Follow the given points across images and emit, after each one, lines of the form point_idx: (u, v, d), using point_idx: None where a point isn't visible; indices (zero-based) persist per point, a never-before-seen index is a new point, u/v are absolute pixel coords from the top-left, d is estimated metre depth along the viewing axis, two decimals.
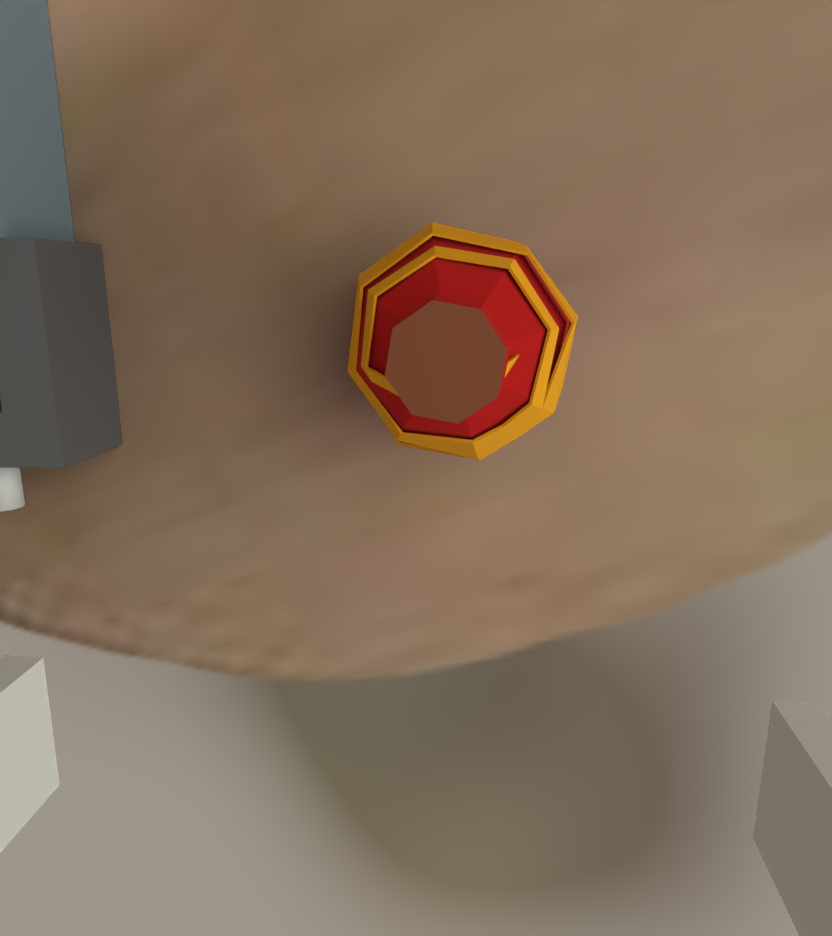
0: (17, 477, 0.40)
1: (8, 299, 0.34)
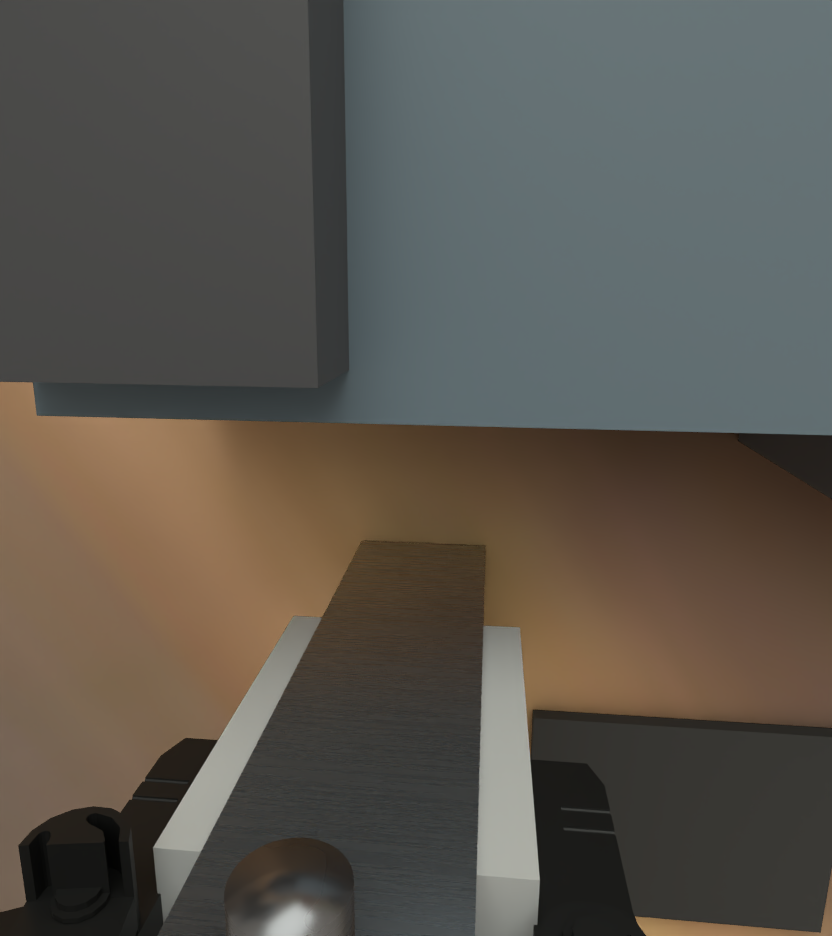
0: None
1: None
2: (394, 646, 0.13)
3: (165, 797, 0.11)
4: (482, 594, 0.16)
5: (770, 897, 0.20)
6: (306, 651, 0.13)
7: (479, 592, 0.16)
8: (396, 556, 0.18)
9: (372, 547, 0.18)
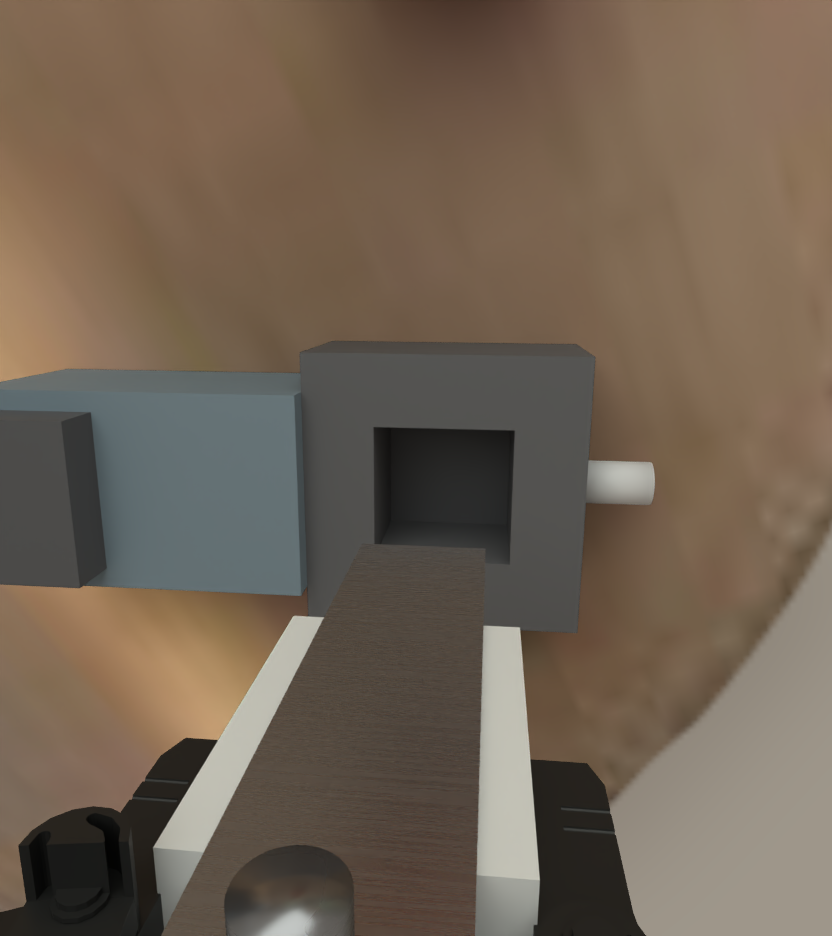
0: (610, 462, 0.30)
1: (372, 397, 0.28)
2: (394, 650, 0.13)
3: (165, 797, 0.11)
4: (482, 597, 0.16)
5: None
6: (306, 655, 0.13)
7: (479, 596, 0.16)
8: (396, 559, 0.18)
9: (372, 550, 0.18)
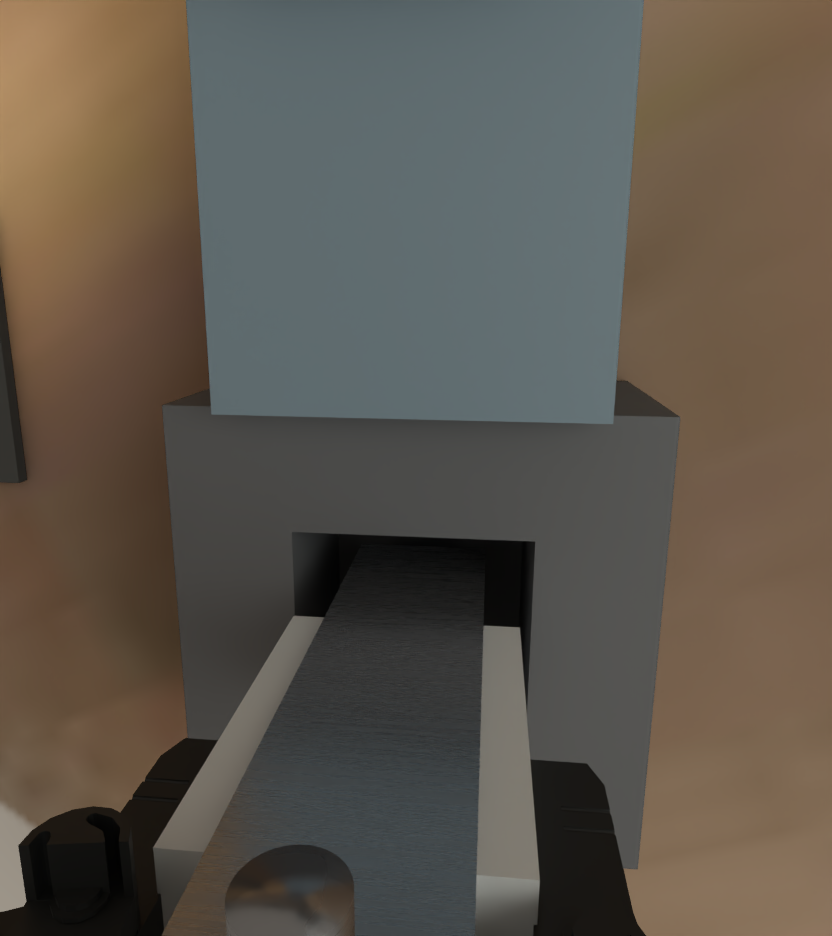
0: None
1: (588, 543, 0.16)
2: (394, 651, 0.13)
3: (165, 797, 0.11)
4: (482, 598, 0.16)
5: None
6: (306, 655, 0.13)
7: (479, 596, 0.16)
8: (396, 559, 0.18)
9: (372, 550, 0.18)
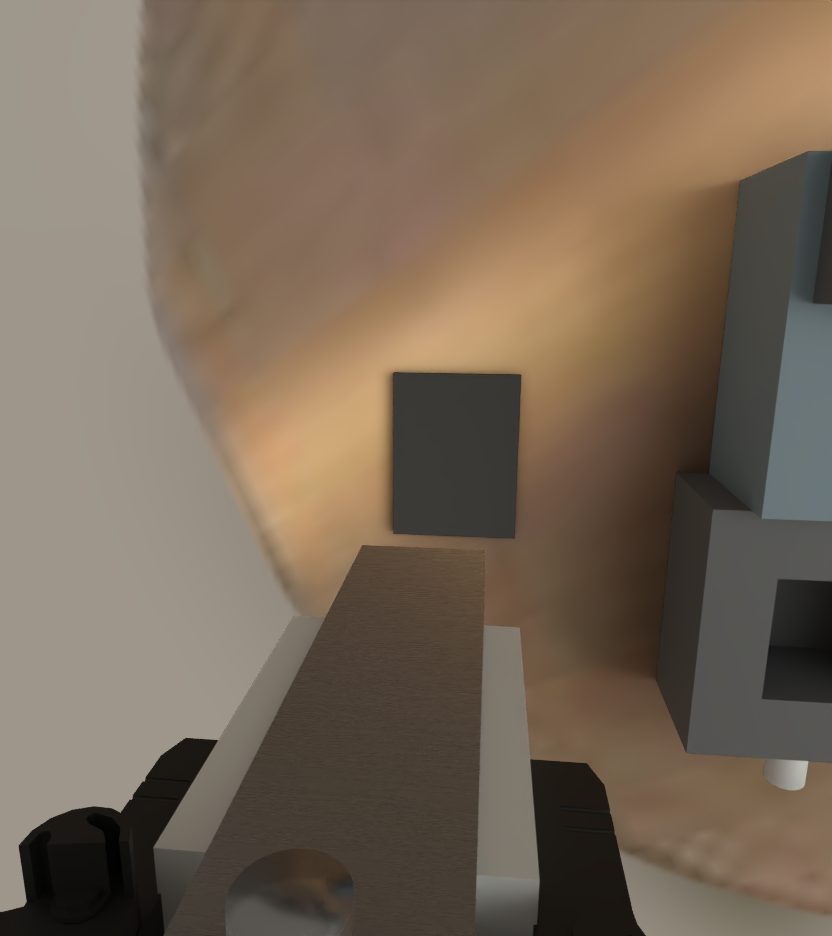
0: None
1: None
2: (394, 653, 0.13)
3: (165, 797, 0.11)
4: (482, 600, 0.16)
5: (413, 507, 0.36)
6: (306, 657, 0.13)
7: (479, 597, 0.16)
8: (396, 561, 0.18)
9: (372, 552, 0.18)
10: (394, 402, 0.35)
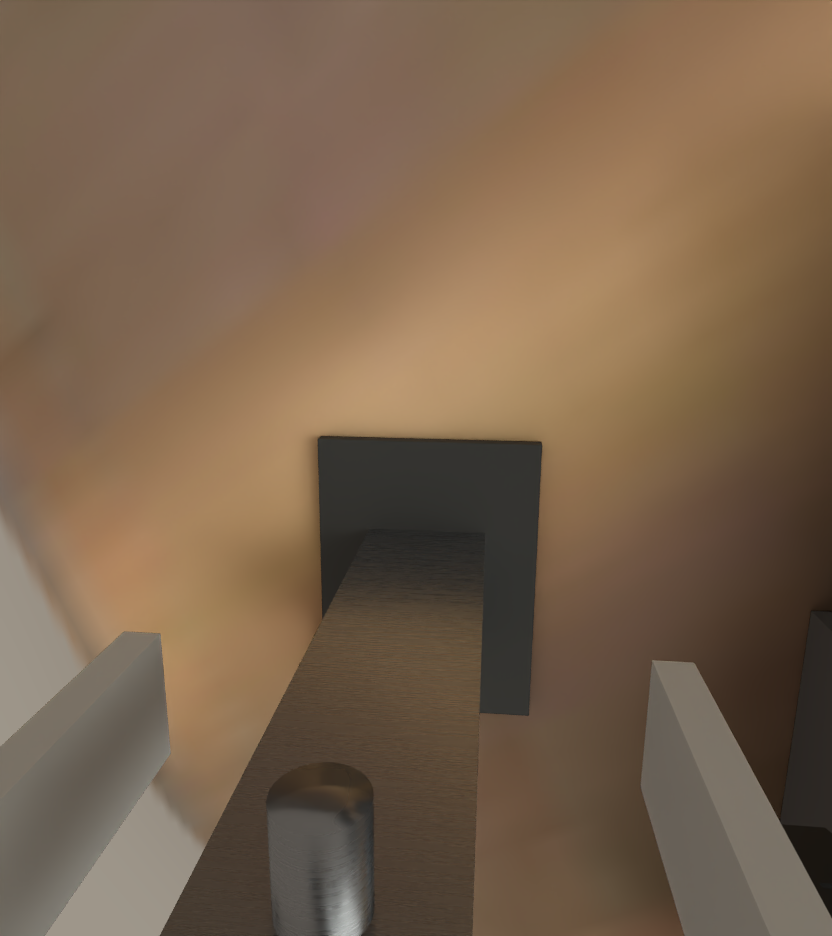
0: None
1: None
2: (402, 621, 0.15)
3: None
4: (482, 576, 0.17)
5: None
6: (321, 625, 0.14)
7: (478, 575, 0.17)
8: (402, 543, 0.19)
9: (379, 535, 0.20)
10: (321, 488, 0.20)
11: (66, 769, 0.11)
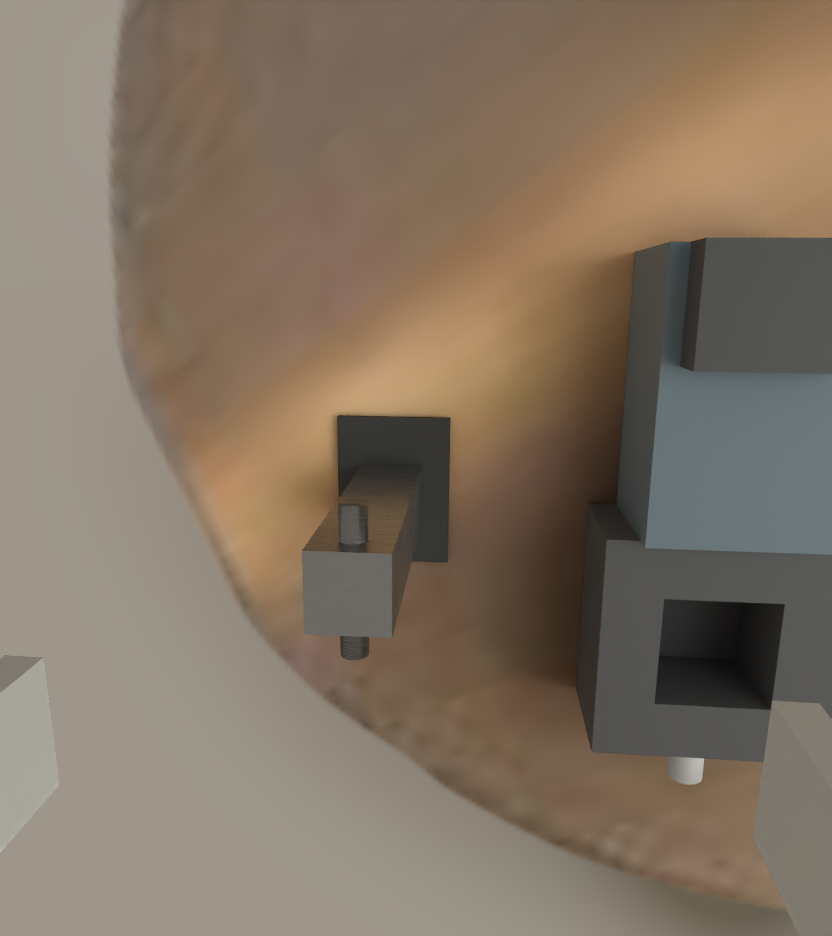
0: None
1: (810, 604, 0.33)
2: (378, 490, 0.34)
3: None
4: (417, 478, 0.36)
5: None
6: (344, 491, 0.34)
7: (416, 478, 0.36)
8: (380, 467, 0.38)
9: (368, 465, 0.39)
10: (338, 442, 0.39)
11: None
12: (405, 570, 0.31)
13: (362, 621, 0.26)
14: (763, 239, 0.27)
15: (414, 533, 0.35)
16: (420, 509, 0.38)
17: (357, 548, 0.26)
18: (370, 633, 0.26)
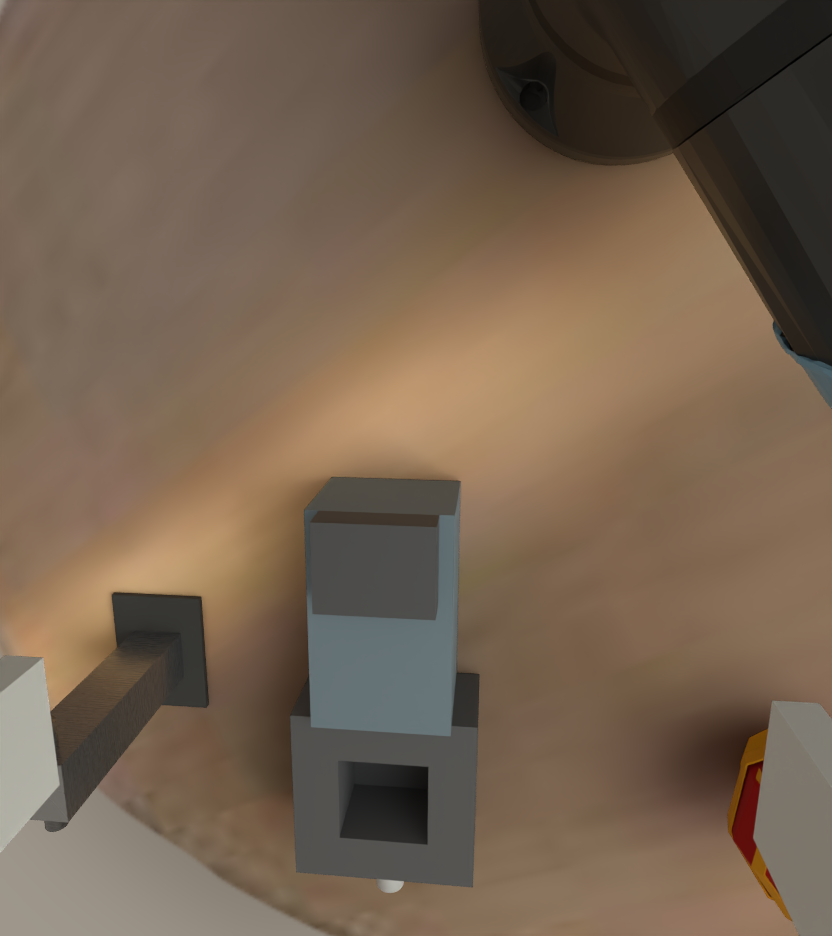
0: None
1: (447, 768, 0.43)
2: (115, 674, 0.43)
3: None
4: (159, 655, 0.46)
5: None
6: (87, 676, 0.43)
7: (159, 654, 0.46)
8: (142, 638, 0.48)
9: (136, 634, 0.48)
10: (114, 614, 0.49)
11: None
12: (116, 749, 0.40)
13: (46, 810, 0.36)
14: (350, 525, 0.36)
15: (150, 703, 0.45)
16: (175, 671, 0.48)
17: None
18: (53, 818, 0.36)
